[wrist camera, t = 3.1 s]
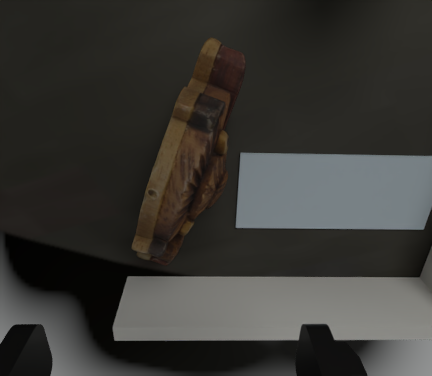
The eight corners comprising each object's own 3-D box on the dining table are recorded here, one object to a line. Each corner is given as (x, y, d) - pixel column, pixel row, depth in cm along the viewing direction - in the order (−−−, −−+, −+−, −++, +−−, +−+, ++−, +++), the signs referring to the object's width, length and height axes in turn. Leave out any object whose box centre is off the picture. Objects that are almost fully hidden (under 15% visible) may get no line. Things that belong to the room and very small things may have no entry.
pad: (235, 226, 30) (235, 227, 30) (240, 152, 27) (240, 153, 27) (422, 228, 31) (423, 229, 31) (448, 156, 28) (449, 157, 28)
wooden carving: (193, 235, 31) (189, 325, 22) (143, 224, 30) (117, 312, 21) (249, 44, 24) (276, 63, 15) (185, 25, 23) (172, 32, 14)
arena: (129, 288, 33) (114, 340, 28) (94, -16, 22) (59, -25, 17) (429, 289, 34) (470, 339, 29) (547, 0, 23) (651, -4, 18)
